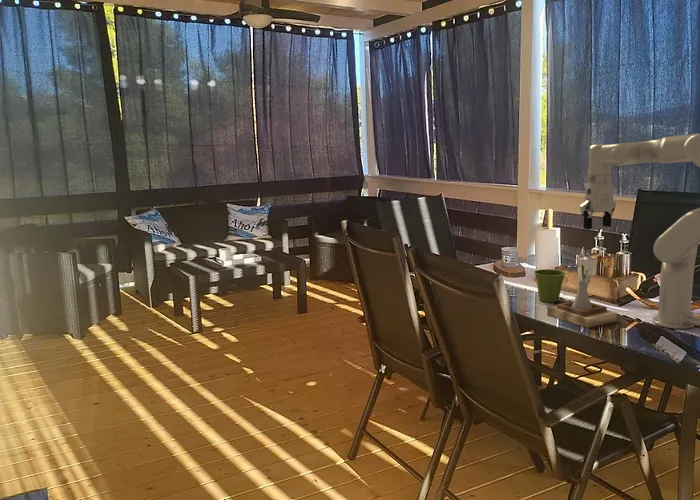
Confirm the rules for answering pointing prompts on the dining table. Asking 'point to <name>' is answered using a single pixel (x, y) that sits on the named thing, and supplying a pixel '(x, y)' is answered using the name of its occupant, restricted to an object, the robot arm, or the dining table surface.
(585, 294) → the flask
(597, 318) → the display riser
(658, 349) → the dining table surface
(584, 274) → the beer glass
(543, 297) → the plant pot
